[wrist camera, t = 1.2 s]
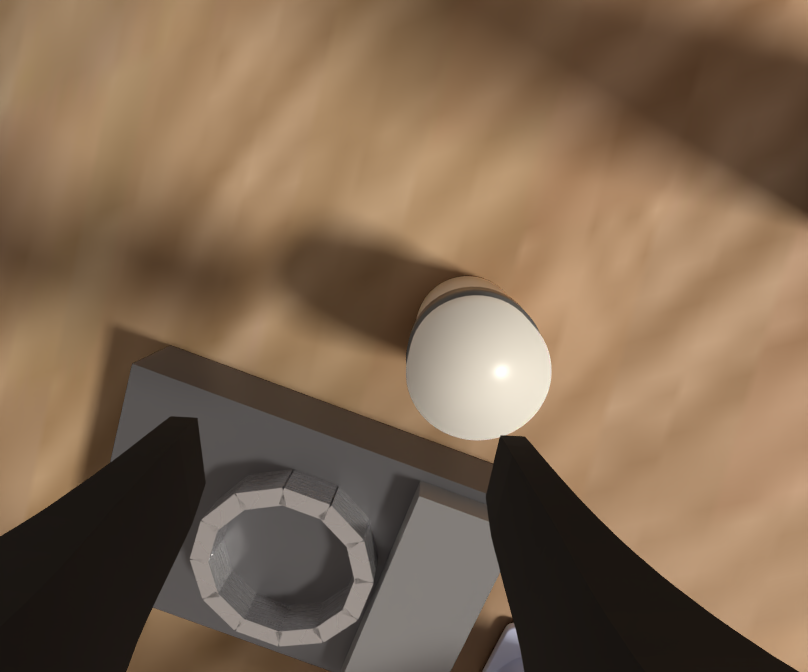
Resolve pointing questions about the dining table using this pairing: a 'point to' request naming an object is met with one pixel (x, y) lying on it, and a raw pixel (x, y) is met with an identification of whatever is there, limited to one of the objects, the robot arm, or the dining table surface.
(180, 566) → the camera body
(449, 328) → the lens
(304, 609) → the mount ring
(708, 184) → the dining table surface
